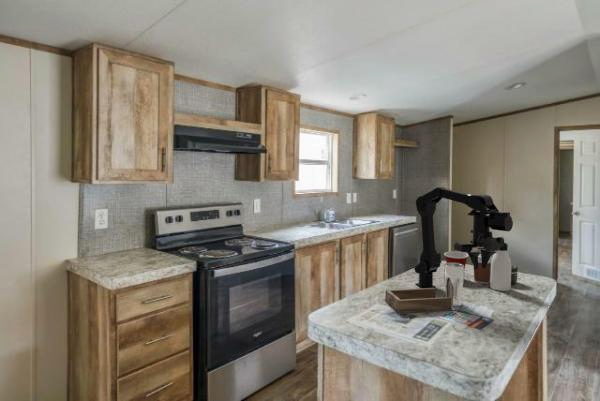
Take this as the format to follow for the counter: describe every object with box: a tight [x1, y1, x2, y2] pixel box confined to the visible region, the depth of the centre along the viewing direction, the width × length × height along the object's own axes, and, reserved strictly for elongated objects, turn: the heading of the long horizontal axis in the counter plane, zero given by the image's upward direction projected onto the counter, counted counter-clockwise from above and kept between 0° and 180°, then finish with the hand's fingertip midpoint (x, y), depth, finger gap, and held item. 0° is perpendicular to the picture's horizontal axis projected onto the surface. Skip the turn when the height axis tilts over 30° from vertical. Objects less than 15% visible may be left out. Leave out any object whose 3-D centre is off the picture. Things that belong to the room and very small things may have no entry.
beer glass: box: [443, 262, 465, 307], centre depth 141 cm, size 7×7×15 cm
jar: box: [511, 264, 519, 286], centre depth 170 cm, size 10×10×8 cm
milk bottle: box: [489, 241, 512, 292], centre depth 159 cm, size 8×8×20 cm
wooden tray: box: [384, 287, 453, 315], centre depth 140 cm, size 14×20×4 cm
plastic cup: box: [443, 250, 469, 270], centre depth 175 cm, size 11×11×12 cm
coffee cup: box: [472, 253, 492, 285], centre depth 170 cm, size 9×9×12 cm
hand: (479, 268), depth 143 cm, fingers open, 3 cm apart
